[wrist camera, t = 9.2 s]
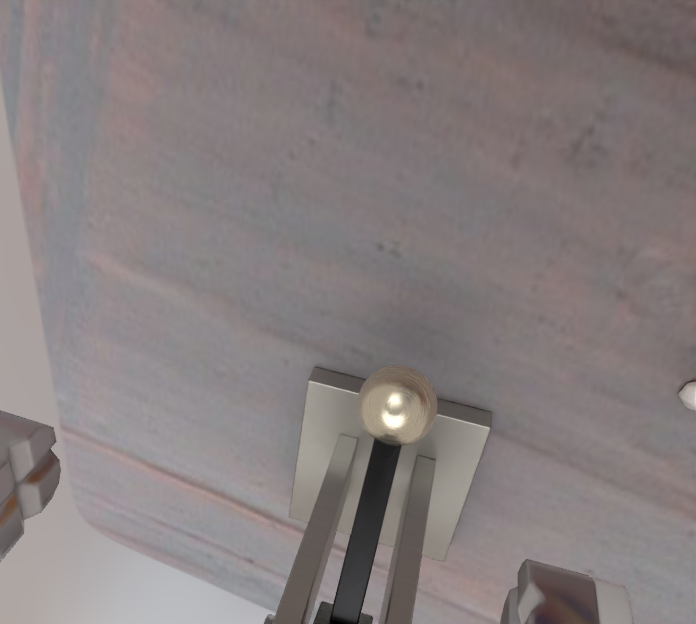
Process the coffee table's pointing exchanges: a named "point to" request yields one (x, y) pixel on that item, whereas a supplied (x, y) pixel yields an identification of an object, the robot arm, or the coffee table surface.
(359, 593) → the lever
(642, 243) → the coffee table surface
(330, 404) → the bracket
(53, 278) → the coffee table surface
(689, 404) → the figurine
